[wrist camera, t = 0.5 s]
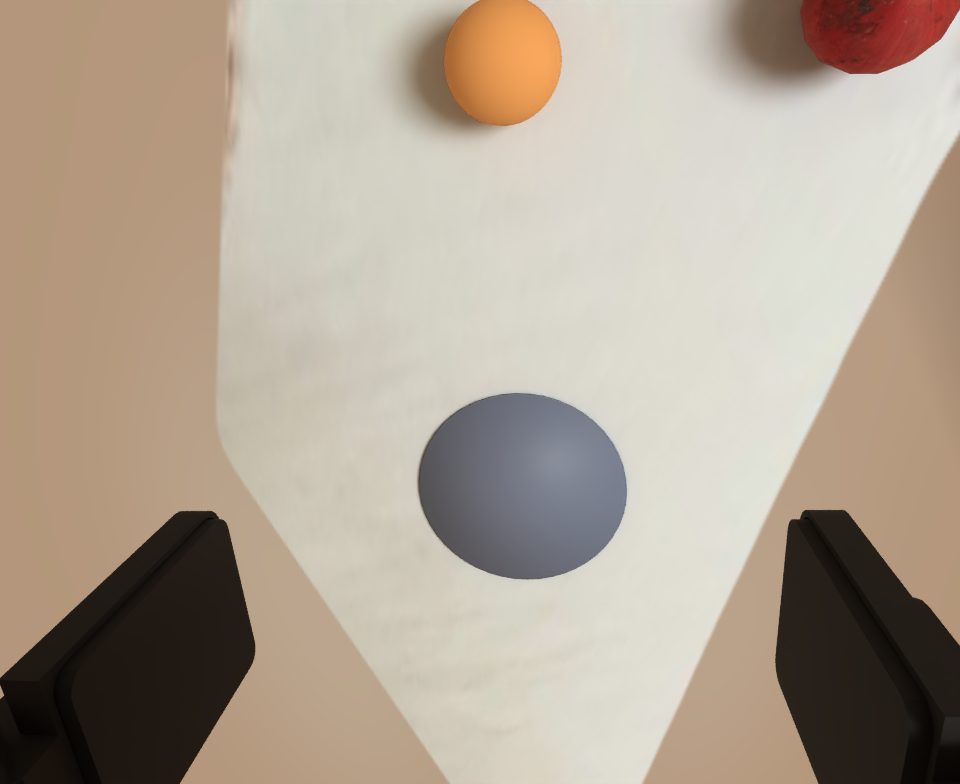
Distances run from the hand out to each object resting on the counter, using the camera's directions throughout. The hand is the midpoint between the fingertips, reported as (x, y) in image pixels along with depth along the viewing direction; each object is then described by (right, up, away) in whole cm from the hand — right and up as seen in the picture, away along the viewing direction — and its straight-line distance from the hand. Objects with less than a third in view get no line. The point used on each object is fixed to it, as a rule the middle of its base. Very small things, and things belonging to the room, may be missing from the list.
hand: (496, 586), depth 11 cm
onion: (+17, +21, +20) cm, 34 cm away
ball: (+1, +19, +20) cm, 28 cm away
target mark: (+2, -3, +31) cm, 31 cm away
